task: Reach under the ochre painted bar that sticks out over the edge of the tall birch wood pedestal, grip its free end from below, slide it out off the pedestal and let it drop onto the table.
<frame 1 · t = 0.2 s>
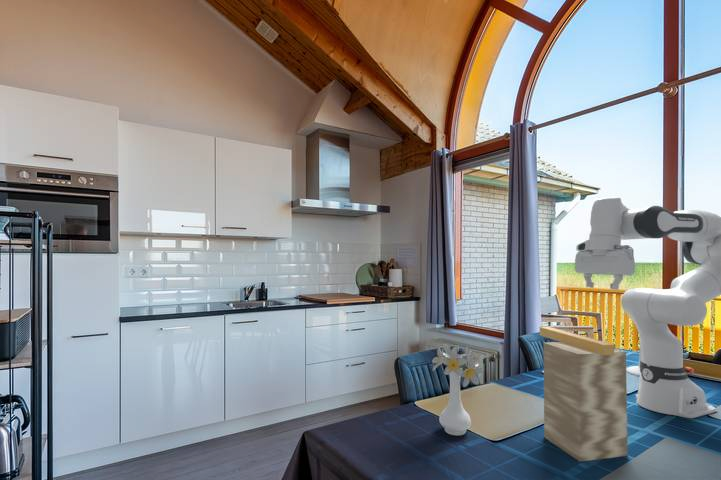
hand: (601, 288, 128), 40 cm above the table, fingers open, 8 cm apart
candlestick: (644, 373, 169), on the table
flower vase: (457, 432, 113), on the table
bar: (573, 343, 109), point 26 cm above the table, touching pedestal
pedestal: (584, 446, 105), on the table
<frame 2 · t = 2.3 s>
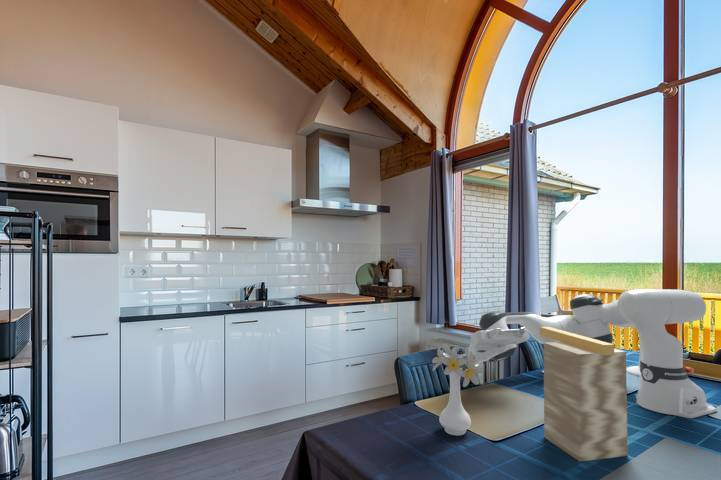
hand: (511, 329, 137), 24 cm above the table, fingers open, 8 cm apart
nothing on the table moved.
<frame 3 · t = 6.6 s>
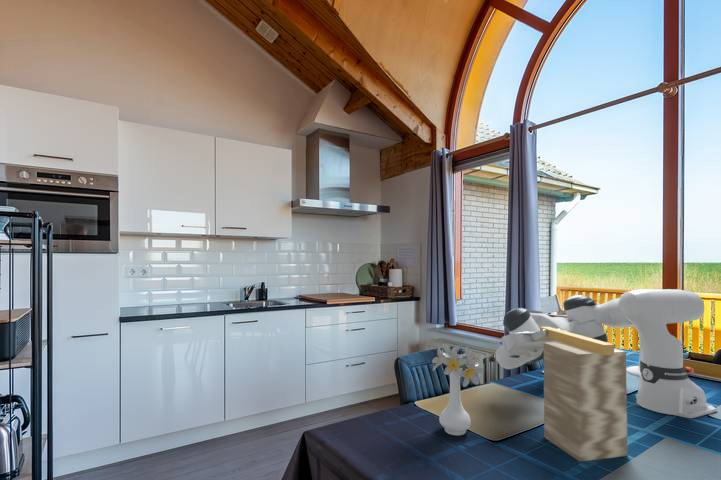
hand: (552, 331, 117), 28 cm above the table, fingers closed on bar, 3 cm apart
bar: (573, 343, 109), point 26 cm above the table, touching gripper, pedestal
everything else where it was.
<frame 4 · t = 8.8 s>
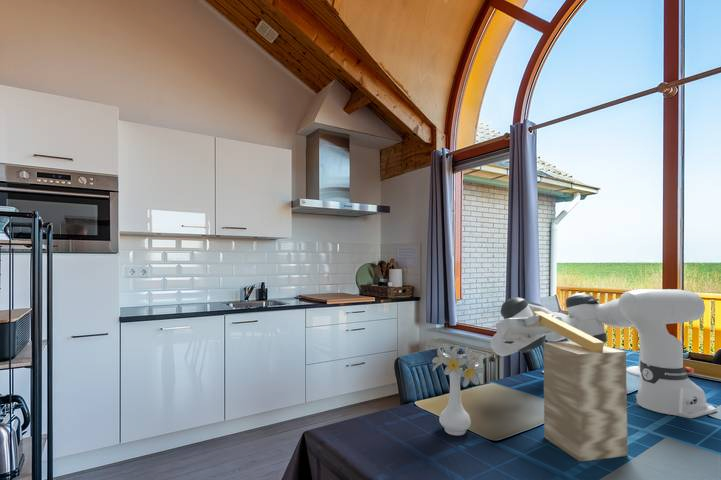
hand: (545, 316, 120), 32 cm above the table, fingers closed on bar, 3 cm apart
bar: (564, 333, 112), point 28 cm above the table, tilted 10°, touching gripper
everything else where it was.
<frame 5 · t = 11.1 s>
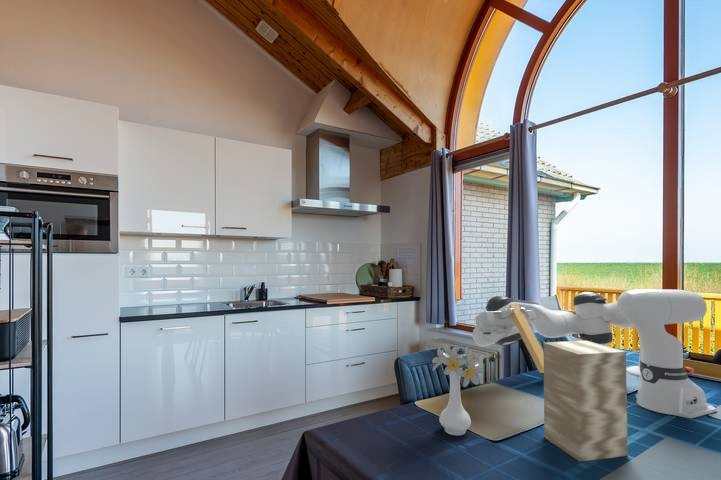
hand: (518, 310, 134), 32 cm above the table, fingers closed on bar, 3 cm apart
bar: (526, 338, 129), point 23 cm above the table, tilted 45°, touching gripper
everything else where it was.
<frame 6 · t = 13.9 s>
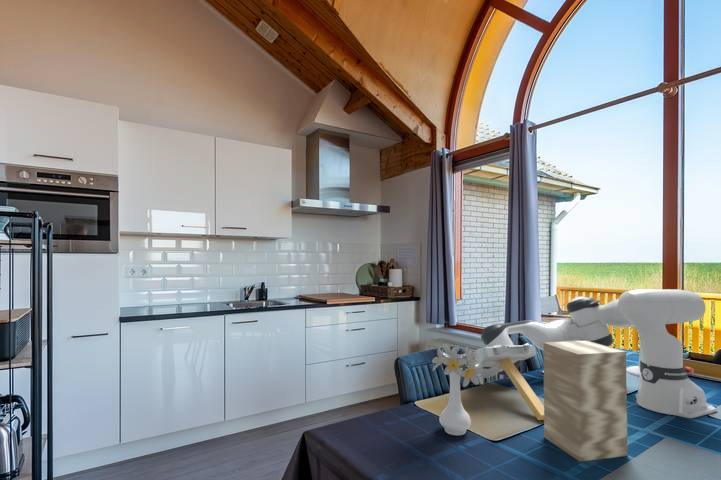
hand: (517, 346, 133), 19 cm above the table, fingers open, 6 cm apart
bar: (521, 389, 131), point 6 cm above the table, tilted 28°, touching arm
everything else where it was.
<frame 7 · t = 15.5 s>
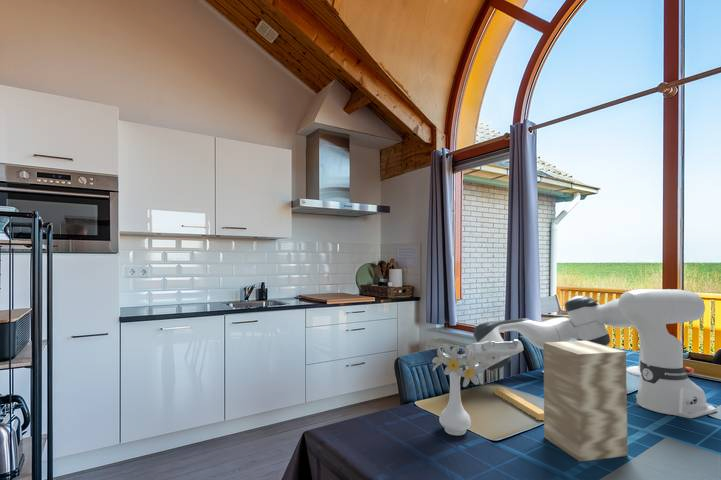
hand: (505, 342, 140), 19 cm above the table, fingers open, 8 cm apart
bar: (518, 406, 133), on the table
everything else where it was.
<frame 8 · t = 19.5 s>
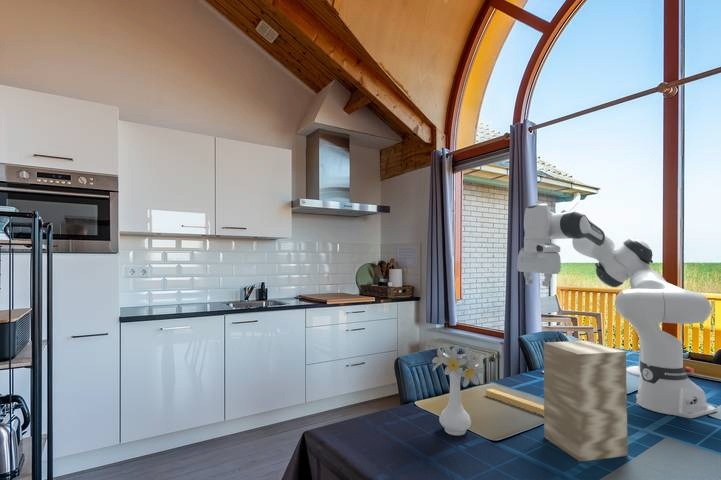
hand: (537, 285, 146), 39 cm above the table, fingers open, 8 cm apart
at the end: bar inside the target area (1.9 cm from its centre), on the table; bar moved 36.3 cm from its start; the gripper is holding nothing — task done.
